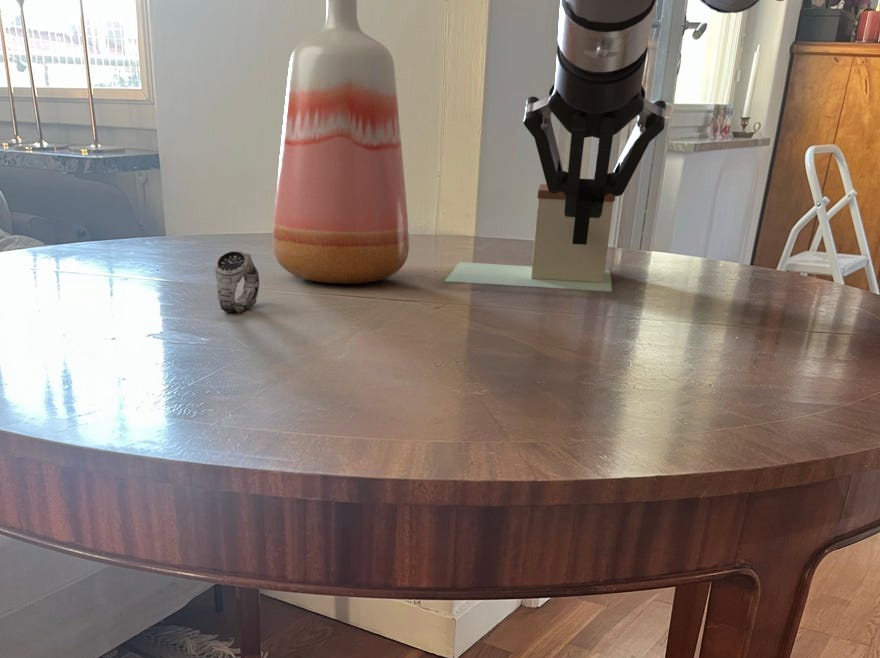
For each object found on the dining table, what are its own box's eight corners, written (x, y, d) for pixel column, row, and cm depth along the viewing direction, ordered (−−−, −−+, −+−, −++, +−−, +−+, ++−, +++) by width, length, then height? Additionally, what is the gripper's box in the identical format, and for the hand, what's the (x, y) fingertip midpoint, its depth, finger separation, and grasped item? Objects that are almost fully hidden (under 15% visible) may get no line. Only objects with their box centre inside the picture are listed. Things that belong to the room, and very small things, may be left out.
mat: (609, 272, 113) (609, 270, 113) (612, 293, 101) (612, 291, 101) (459, 263, 115) (459, 262, 115) (444, 283, 103) (444, 281, 103)
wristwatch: (209, 313, 85) (205, 253, 83) (237, 301, 90) (234, 244, 88) (245, 316, 85) (242, 256, 82) (272, 304, 90) (270, 247, 87)
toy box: (601, 271, 112) (612, 187, 108) (604, 282, 105) (615, 193, 101) (532, 267, 113) (539, 184, 109) (529, 278, 106) (538, 190, 102)
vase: (389, 266, 111) (395, -45, 96) (423, 289, 99) (437, -64, 84) (265, 268, 107) (252, -55, 93) (285, 291, 95) (274, -76, 81)
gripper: (519, 76, 79) (515, 260, 102) (679, 81, 78) (639, 267, 100) (529, 5, 81) (523, 201, 104) (685, 8, 80) (645, 207, 102)
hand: (580, 233), depth 102 cm, fingers closed
